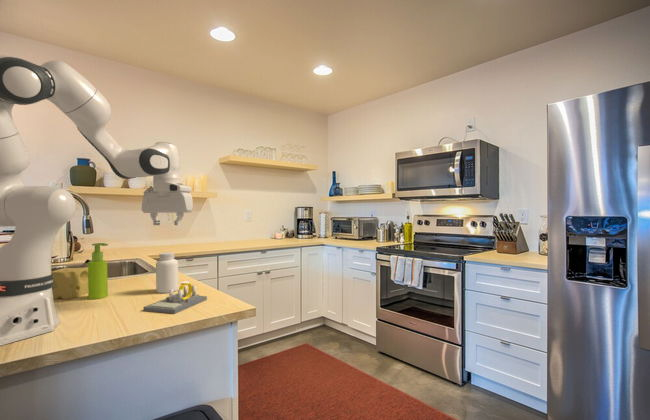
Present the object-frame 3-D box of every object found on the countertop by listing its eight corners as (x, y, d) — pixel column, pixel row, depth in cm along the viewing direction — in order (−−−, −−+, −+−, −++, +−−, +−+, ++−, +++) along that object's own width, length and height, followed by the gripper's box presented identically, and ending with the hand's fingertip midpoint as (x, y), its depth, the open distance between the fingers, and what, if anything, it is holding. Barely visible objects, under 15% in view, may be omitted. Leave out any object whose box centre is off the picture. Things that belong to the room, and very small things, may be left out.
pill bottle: (151, 292, 130) (151, 253, 130) (169, 287, 137) (169, 251, 137) (165, 294, 127) (164, 254, 126) (183, 289, 134) (182, 252, 133)
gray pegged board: (175, 313, 103) (174, 296, 103) (143, 310, 107) (143, 294, 107) (206, 299, 119) (206, 285, 119) (178, 297, 122) (178, 283, 122)
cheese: (71, 299, 121) (71, 272, 121) (42, 299, 121) (41, 272, 121) (92, 292, 132) (91, 266, 131) (65, 292, 132) (64, 267, 132)
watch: (183, 302, 112) (183, 285, 112) (175, 301, 113) (175, 284, 113) (194, 296, 118) (194, 280, 118) (187, 295, 119) (187, 279, 118)
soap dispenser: (100, 299, 120) (99, 244, 120) (84, 299, 121) (83, 244, 121) (113, 295, 126) (113, 242, 125) (98, 294, 127) (97, 242, 127)
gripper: (137, 187, 123) (137, 225, 123) (183, 186, 117) (183, 225, 117) (150, 189, 129) (150, 224, 129) (195, 187, 123) (195, 225, 123)
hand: (166, 225), depth 123 cm, fingers open, 8 cm apart
